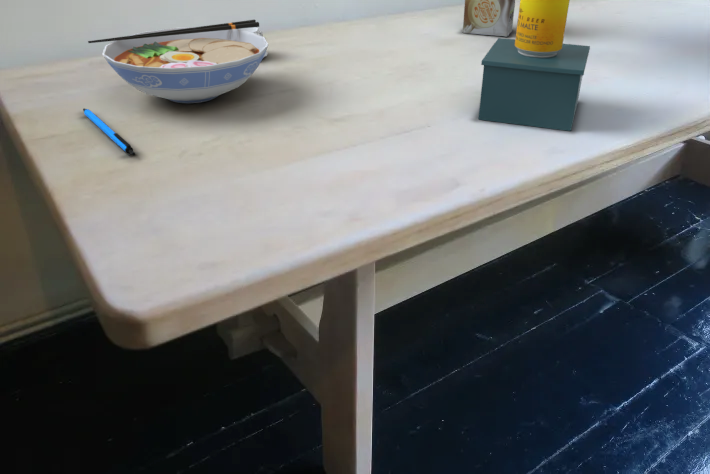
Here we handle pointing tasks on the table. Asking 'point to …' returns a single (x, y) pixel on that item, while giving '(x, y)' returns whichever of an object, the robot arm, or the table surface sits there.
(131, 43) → the ramen bowl
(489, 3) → the coffee box
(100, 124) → the pen
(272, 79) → the table surface
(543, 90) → the teal box
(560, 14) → the beer can
